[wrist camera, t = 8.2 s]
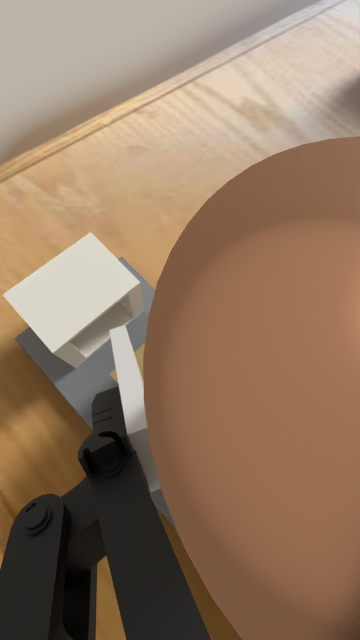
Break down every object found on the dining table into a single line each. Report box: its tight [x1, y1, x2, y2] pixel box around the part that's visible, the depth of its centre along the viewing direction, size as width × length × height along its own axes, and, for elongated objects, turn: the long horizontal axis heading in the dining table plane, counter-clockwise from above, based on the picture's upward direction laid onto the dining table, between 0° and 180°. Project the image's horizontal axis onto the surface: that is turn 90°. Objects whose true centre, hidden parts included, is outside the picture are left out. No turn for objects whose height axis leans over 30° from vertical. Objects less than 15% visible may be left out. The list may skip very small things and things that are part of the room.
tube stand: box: [3, 232, 178, 532], centre depth 19 cm, size 26×10×7 cm, turn 44°
